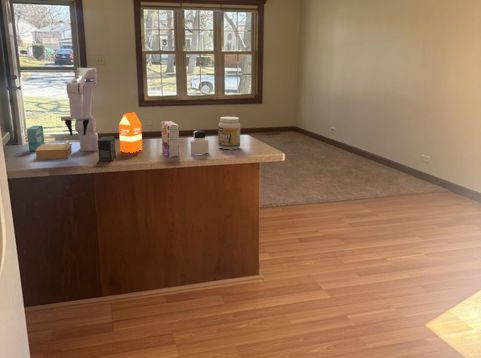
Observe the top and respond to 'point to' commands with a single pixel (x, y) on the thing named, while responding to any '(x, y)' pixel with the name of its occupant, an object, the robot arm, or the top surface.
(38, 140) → the data package
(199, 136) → the medicine bottle
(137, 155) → the top surface
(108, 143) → the small box
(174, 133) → the candy box
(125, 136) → the orange juice
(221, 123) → the supplement tub
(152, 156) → the top surface
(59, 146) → the mailer lid
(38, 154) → the mailer box
